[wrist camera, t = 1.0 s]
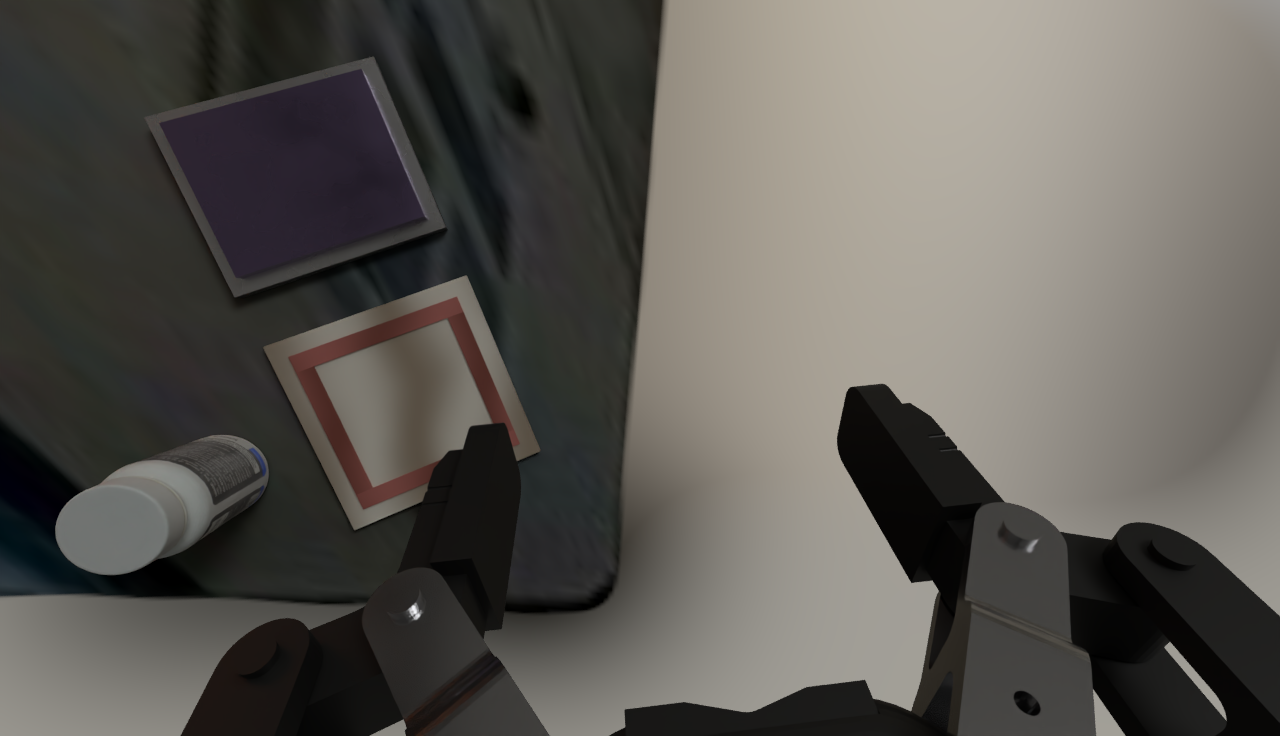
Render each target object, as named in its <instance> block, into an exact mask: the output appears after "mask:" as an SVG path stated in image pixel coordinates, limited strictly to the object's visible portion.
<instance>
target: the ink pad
mask: <svg viewBox="0 0 1280 736" xmlns="http://www.w3.org/2000/svg"><path fill="white" fill-rule="evenodd" d="M144 118H145V120H146V122H147V124H148V126H149V128H150V130H151V132H152V134H153V136H154V138H155V140H156V142H157V144H158V146H159V148H160V150H161V152H162V154H163V156H164V158H165V160H166V162H167V164H168V166H169V168H170V170H171V172H172V174H173V176H174V178H175V180H176V182H177V184H178V186H179V188H180V190H181V192H182V194H183V196H184V198H185V200H186V202H187V204H188V206H189V208H190V210H191V212H192V214H193V216H194V218H195V220H196V222H197V224H198V226H199V228H200V230H201V232H202V234H203V236H204V237H205V239H206V241H207V243H208V245H209V247H210V249H211V251H212V253H213V255H214V257H215V259H216V261H217V263H218V265H219V267H220V269H221V271H222V273H223V275H224V277H225V279H226V281H227V283H228V285H229V287H230V289H231V291H232V293H233V295H234V297H235V298H245V297H248V296H251V295H254V294H257V293H260V292H263V291H266V290H269V289H272V288H275V287H278V286H281V285H284V284H287V283H290V282H293V281H296V280H299V279H302V278H305V277H307V276H310V275H313V274H316V273H319V272H322V271H325V270H328V269H331V268H334V267H337V266H340V265H343V264H346V263H349V262H352V261H355V260H358V259H361V258H364V257H367V256H370V255H373V254H376V253H379V252H382V251H385V250H388V249H391V248H394V247H397V246H400V245H403V244H406V243H409V242H412V241H415V240H418V239H421V238H424V237H427V236H430V235H433V234H436V233H439V232H442V231H445V230H448V229H447V227H446V225H445V222H444V220H443V218H442V215H441V213H440V210H439V208H438V206H437V203H436V201H435V199H434V196H433V194H432V191H431V189H430V187H429V184H428V182H427V180H426V177H425V175H424V173H423V170H422V168H421V165H420V163H419V161H418V158H417V156H416V154H415V151H414V149H413V146H412V144H411V142H410V139H409V137H408V135H407V132H406V130H405V128H404V125H403V123H402V120H401V118H400V116H399V113H398V111H397V109H396V106H395V104H394V101H393V99H392V97H391V94H390V92H389V90H388V87H387V85H386V83H385V80H384V78H383V75H382V73H381V71H380V68H379V66H378V64H377V62H376V60H375V58H374V56H373V57H370V58H366V59H362V60H358V61H355V62H351V63H347V64H343V65H340V66H336V67H332V68H328V69H325V70H321V71H317V72H313V73H309V74H306V75H302V76H298V77H294V78H291V79H287V80H283V81H279V82H276V83H272V84H268V85H264V86H261V87H257V88H253V89H249V90H245V91H242V92H238V93H234V94H230V95H227V96H223V97H219V98H215V99H212V100H208V101H204V102H200V103H197V104H193V105H189V106H185V107H181V108H178V109H174V110H170V111H166V112H163V113H159V114H155V115H151V116H148V117H144Z"/></svg>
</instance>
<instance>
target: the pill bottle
mask: <svg viewBox="0 0 1280 736" xmlns="http://www.w3.org/2000/svg"><path fill="white" fill-rule="evenodd" d="M268 478H269V470H268V464H267V461H266V459H265V457H264V455H263V454H262V452H261V451H260V450H259V449H258V448H257V447H256V446H254V445H253V444H252V443H250V442H249V441H247V440H245V439H242V438H239V437H235V436H230V435H215V436H209V437H205V438H202V439H199V440H196V441H193V442H191V443H188V444H185V445H182V446H180V447H177V448H174V449H171V450H169V451H166V452H163V453H160V454H158V455H155V456H152V457H149V458H146V459H143V460H140V461H137V462H134V463H131V464H129V465H126V466H124V467H122V468H120V469H119V470H117V471H115V472H114V473H112V474H111V475H110V476H108V477H107V478H106V479H105V480H104V481H103V482H102V483H101V484H99V485H97V486H94V487H92V488H90V489H88V490H85V491H83V492H81V493H80V494H78V495H76V496H75V497H74V498H72V499H71V500H70V501H69V502H68V503H67V504H66V505H65V507H64V508H63V509H62V511H61V513H60V514H59V517H58V519H57V522H56V527H55V530H56V539H57V543H58V545H59V547H60V549H61V551H62V552H63V554H64V555H65V556H66V557H67V559H68V560H70V561H71V562H72V563H73V564H75V565H76V566H78V567H80V568H82V569H84V570H87V571H89V572H92V573H97V574H102V575H119V574H125V573H130V572H132V571H135V570H138V569H141V568H143V567H145V566H146V565H148V564H150V563H151V562H153V561H155V560H156V559H160V558H165V557H169V556H172V555H175V554H177V553H180V552H182V551H184V550H186V549H188V548H189V547H191V546H192V545H193V544H195V543H196V542H198V541H199V540H201V539H202V538H204V537H205V536H207V535H208V534H209V533H211V532H213V531H214V530H215V529H217V528H218V527H220V526H221V525H223V524H224V523H226V522H227V521H229V520H230V519H232V518H233V517H235V516H236V515H238V514H239V513H241V512H242V511H244V510H245V509H247V508H248V507H250V506H251V505H252V504H254V503H255V502H256V501H257V500H258V499H259V498H260V497H261V495H262V494H263V492H264V490H265V488H266V486H267V483H268Z"/></svg>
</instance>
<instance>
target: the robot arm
mask: <svg viewBox="0 0 1280 736" xmlns="http://www.w3.org/2000/svg"><path fill="white" fill-rule="evenodd" d="M837 446H838V451H839V455H840V458H841V460H842V462H843V464H844V466H845V468H846V469H847V471H848V473H849V475H850V476H851V478H852V480H853V482H854V483H855V485H856V487H857V488H858V490H859V492H860V494H861V496H862V497H863V499H864V501H865V502H866V504H867V506H868V508H869V510H870V511H871V513H872V515H873V517H874V518H875V520H876V522H877V524H878V525H879V527H880V529H881V531H882V532H883V534H884V536H885V537H886V539H887V541H888V543H889V545H890V546H891V548H892V550H893V552H894V553H895V555H896V557H897V559H898V560H899V562H900V564H901V565H902V567H903V569H904V571H905V573H906V574H907V576H908V578H909V580H910V581H911V583H914V582H922V581H931V580H933V582H934V583H935V585H936V587H937V588H938V590H939V592H938V594H937V597H936V599H935V604H934V610H933V616H932V622H931V627H930V633H929V638H928V645H927V650H926V656H925V661H924V667H923V673H922V678H921V682H920V685H919V689H918V692H917V695H916V698H915V701H914V704H913V707H912V711H908V710H906V709H904V708H901V707H899V706H897V705H894V704H891V703H887V702H884V701H881V700H876V699H873V698H872V695H871V693H870V690H869V688H868V686H867V683H866V681H865V680H861V681H853V682H845V683H838V684H829V685H820V686H812V687H806V688H804V689H802V690H800V691H798V692H795V693H793V694H791V695H789V696H787V697H784V698H782V699H780V700H778V701H776V702H774V703H771V704H769V705H767V706H765V707H763V708H761V709H758V710H756V711H753V712H739V711H733V710H727V709H721V708H715V707H709V706H703V705H698V704H692V703H686V702H683V703H675V704H667V705H658V706H650V707H642V708H634V709H626V710H625V725H626V726H625V728H623V729H621V730H619V731H617V732H615V733H613V734H611V735H610V736H1096V728H1095V714H1094V699H1093V689H1094V691H1095V692H1096V693H1097V695H1098V696H1099V698H1100V699H1101V701H1102V702H1103V704H1104V705H1105V707H1106V708H1107V709H1108V711H1109V712H1110V714H1111V715H1112V717H1113V718H1114V720H1115V721H1116V722H1117V724H1118V725H1119V727H1120V728H1121V729H1122V731H1123V733H1124V734H1125V735H1126V736H1280V616H1279V615H1278V614H1277V613H1276V612H1274V611H1273V610H1272V609H1271V608H1270V607H1269V606H1268V605H1267V604H1266V603H1265V602H1264V601H1262V600H1261V599H1260V598H1259V597H1258V596H1257V595H1256V594H1255V593H1254V592H1253V591H1252V590H1250V589H1249V588H1248V587H1247V586H1246V585H1245V584H1244V583H1243V582H1242V581H1241V580H1240V579H1239V578H1237V577H1236V576H1235V575H1234V574H1233V573H1232V572H1231V571H1230V570H1229V569H1228V568H1227V567H1225V566H1224V565H1223V564H1222V563H1221V562H1220V561H1219V560H1218V559H1217V558H1216V557H1215V556H1214V555H1212V554H1211V553H1210V552H1209V551H1208V550H1207V549H1205V548H1204V547H1203V546H1201V545H1200V544H1198V543H1197V542H1195V541H1194V540H1192V539H1190V538H1189V537H1187V536H1185V535H1183V534H1181V533H1179V532H1177V531H1174V530H1171V529H1169V528H1166V527H1163V526H1160V525H1155V524H1151V523H1140V522H1138V523H1137V522H1136V523H1130V524H1126V525H1124V526H1122V527H1121V528H1120V529H1119V531H1118V532H1117V533H1116V535H1115V536H1114V537H1113V539H1112V540H1109V539H1102V538H1095V537H1089V536H1082V535H1076V534H1069V533H1064V532H1059V531H1058V529H1057V528H1056V527H1055V526H1054V525H1053V524H1052V523H1051V522H1049V521H1048V520H1047V519H1045V518H1044V517H1043V516H1041V515H1039V514H1038V513H1036V512H1034V511H1032V510H1030V509H1028V508H1025V507H1022V506H1019V505H1015V504H1011V503H1005V502H1004V501H1003V500H1002V498H1001V497H1000V496H999V495H998V494H997V493H996V491H995V490H994V489H993V488H992V487H991V486H990V484H989V483H988V482H987V481H986V480H985V479H984V477H983V476H982V475H981V474H980V473H979V472H978V471H977V469H976V468H975V467H974V466H973V465H972V464H971V462H970V461H969V460H968V459H967V458H966V457H965V455H964V454H963V453H962V452H961V451H960V450H957V446H956V445H955V444H954V443H953V442H952V440H951V439H950V438H949V437H948V436H947V437H946V436H945V432H944V431H943V430H942V429H941V428H940V427H939V425H938V424H937V423H936V422H935V421H934V419H933V418H932V417H931V416H929V415H928V414H926V413H925V412H923V411H922V410H920V409H919V408H917V407H915V406H914V405H912V404H911V403H906V404H902V403H901V402H900V401H899V399H898V398H897V397H896V396H895V394H894V393H893V392H892V391H891V389H890V388H889V387H888V386H886V385H885V384H876V385H867V386H857V387H850V388H849V389H848V391H847V393H846V397H845V402H844V407H843V411H842V416H841V421H840V426H839V430H838V436H837ZM520 496H521V479H520V472H519V467H518V464H517V460H516V457H515V453H514V450H513V446H512V443H511V439H510V436H509V432H508V429H507V426H506V424H505V423H503V422H502V423H493V424H483V425H473V426H471V427H470V428H469V430H468V433H467V437H466V440H465V443H464V447H463V449H460V450H450V451H448V452H447V453H446V454H445V456H444V457H443V458H442V459H441V460H440V462H439V463H438V464H437V465H436V466H435V467H434V469H433V472H432V475H431V478H430V481H429V484H428V486H427V492H425V495H424V498H423V501H422V508H420V510H419V513H418V516H417V518H416V521H415V524H414V527H413V530H412V533H411V536H410V539H409V542H408V545H407V548H406V551H405V553H404V556H403V559H402V562H401V565H400V568H399V570H398V572H397V574H396V575H394V576H392V577H390V578H389V579H388V580H386V581H385V582H384V583H383V584H381V585H380V586H379V587H378V588H377V589H376V590H375V592H374V593H373V594H372V596H371V597H370V598H369V600H368V602H367V604H366V606H364V607H363V608H361V609H359V610H357V611H355V612H353V613H350V614H348V615H346V616H343V617H341V618H338V619H336V620H333V621H331V622H328V623H326V624H323V625H321V626H318V627H316V628H313V629H311V630H308V628H307V627H306V626H305V625H304V624H303V623H302V622H300V621H298V620H296V619H290V618H285V619H278V620H273V621H270V622H268V623H265V624H263V625H261V626H259V627H257V628H255V629H254V630H252V631H250V632H249V633H248V634H246V635H245V636H243V637H242V638H241V639H240V640H238V641H237V642H236V643H235V644H234V645H233V646H232V647H231V648H230V649H229V650H228V651H227V653H226V654H225V655H224V656H223V658H222V659H221V660H220V662H219V664H218V665H217V667H216V669H215V671H214V672H213V674H212V676H211V678H210V680H209V682H208V684H207V686H206V688H205V690H204V692H203V694H202V696H201V698H200V699H199V702H198V703H197V705H196V707H195V709H194V711H193V713H192V715H191V717H190V719H189V721H188V723H187V725H186V727H185V728H184V730H183V732H182V734H181V736H370V735H371V734H374V733H376V732H378V731H380V730H382V729H384V728H386V727H388V726H390V725H392V724H395V723H396V722H399V721H401V720H403V719H404V721H405V724H406V727H407V729H406V730H405V734H406V736H549V734H548V733H547V731H546V729H545V728H544V726H543V725H542V724H541V722H540V720H539V719H538V717H537V716H536V714H535V713H534V711H533V710H532V708H531V707H530V705H529V704H528V702H527V700H526V699H525V697H524V696H523V694H522V693H521V691H520V690H519V688H518V687H517V685H516V684H515V682H514V681H513V679H512V678H511V676H510V674H509V673H508V672H507V670H506V669H505V667H504V666H503V664H502V663H501V661H500V660H499V659H498V658H497V657H495V656H494V655H493V654H492V653H491V651H490V649H489V648H488V646H487V645H486V643H485V642H484V640H483V639H484V633H485V631H489V630H497V629H502V622H503V616H504V609H505V602H506V595H507V588H508V580H509V573H510V566H511V559H512V552H513V545H514V538H515V531H516V524H517V517H518V510H519V503H520ZM1169 642H1171V643H1172V644H1173V646H1175V648H1176V649H1177V650H1178V651H1179V652H1180V654H1181V655H1182V656H1183V657H1184V658H1185V659H1186V661H1187V662H1188V663H1189V664H1190V665H1191V666H1192V667H1193V668H1194V670H1195V671H1196V672H1197V673H1198V674H1199V676H1201V678H1202V679H1203V680H1204V681H1205V682H1206V684H1208V686H1209V687H1210V688H1211V689H1212V691H1213V692H1214V693H1215V694H1216V695H1217V697H1218V698H1219V700H1220V701H1221V703H1222V705H1223V707H1224V710H1225V713H1226V718H1227V721H1226V720H1225V719H1224V718H1223V717H1222V715H1221V714H1220V713H1219V712H1218V711H1217V709H1216V708H1215V707H1214V706H1213V705H1212V703H1211V702H1210V701H1209V700H1208V699H1207V698H1206V696H1205V695H1204V694H1203V693H1202V692H1201V691H1200V689H1199V688H1198V687H1197V686H1196V685H1195V684H1194V682H1193V681H1192V680H1191V679H1190V678H1189V676H1188V675H1187V674H1186V673H1185V672H1184V671H1183V669H1182V668H1181V667H1180V666H1179V665H1178V663H1177V662H1176V661H1175V660H1174V659H1173V658H1172V657H1171V655H1170V654H1169V653H1168V652H1167V651H1166V649H1165V648H1164V647H1165V646H1166V645H1167V644H1168V643H1169Z"/></svg>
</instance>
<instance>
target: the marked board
mask: <svg viewBox="0 0 1280 736" xmlns="http://www.w3.org/2000/svg"><path fill="white" fill-rule="evenodd" d="M263 348H264V350H265V352H266V354H267V356H268V358H269V360H270V362H271V364H272V366H273V368H274V370H275V372H276V374H277V376H278V378H279V380H280V382H281V384H282V386H283V388H284V390H285V392H286V394H287V396H288V398H289V400H290V402H291V404H292V406H293V408H294V410H295V412H296V414H297V416H298V418H299V420H300V422H301V424H302V426H303V428H304V430H305V432H306V434H307V436H308V438H309V440H310V442H311V445H312V447H313V449H314V451H315V453H316V455H317V457H318V459H319V461H320V463H321V465H322V467H323V469H324V471H325V473H326V475H327V477H328V479H329V481H330V483H331V485H332V487H333V489H334V491H335V493H336V495H337V497H338V499H339V501H340V503H341V505H342V507H343V509H344V511H345V513H346V515H347V517H348V519H349V521H350V523H351V525H352V527H353V529H354V530H356V529H359V528H361V527H363V526H366V525H368V524H370V523H373V522H375V521H378V520H380V519H382V518H385V517H387V516H389V515H392V514H394V513H396V512H399V511H401V510H403V509H406V508H408V507H410V506H413V505H415V504H417V503H420V502H422V501H423V498H424V495H425V492H427V486H428V484H429V481H430V478H431V475H432V472H433V469H434V467H435V466H436V465H437V464H438V463H439V462H440V460H441V459H442V458H443V457H444V456H445V454H446V453H447V452H448V451H450V450H460V449H463V447H464V443H465V440H466V437H467V433H468V430H469V428H470V427H471V426H473V425H483V424H493V423H502V422H503V423H505V424H506V426H507V429H508V432H509V436H510V439H511V443H512V446H513V450H514V453H515V457H516V460H517V461H519V460H521V459H523V458H526V457H528V456H530V455H533V454H535V453H537V452H540V448H539V445H538V443H537V441H536V438H535V436H534V433H533V431H532V429H531V426H530V424H529V422H528V419H527V417H526V415H525V412H524V410H523V407H522V405H521V403H520V400H519V398H518V396H517V393H516V391H515V389H514V386H513V384H512V381H511V379H510V377H509V374H508V372H507V370H506V367H505V365H504V362H503V360H502V358H501V355H500V353H499V351H498V348H497V346H496V344H495V341H494V339H493V336H492V334H491V332H490V329H489V327H488V325H487V322H486V320H485V317H484V315H483V313H482V310H481V308H480V306H479V303H478V301H477V299H476V296H475V294H474V291H473V289H472V287H471V284H470V282H469V280H468V277H467V276H463V277H461V278H458V279H455V280H452V281H449V282H446V283H444V284H441V285H438V286H435V287H432V288H429V289H427V290H424V291H421V292H418V293H415V294H412V295H410V296H407V297H404V298H401V299H398V300H395V301H392V302H390V303H387V304H384V305H381V306H378V307H375V308H373V309H370V310H367V311H364V312H361V313H358V314H356V315H353V316H350V317H347V318H344V319H341V320H339V321H336V322H333V323H330V324H327V325H324V326H321V327H319V328H316V329H313V330H310V331H307V332H304V333H302V334H299V335H296V336H293V337H290V338H287V339H285V340H282V341H279V342H276V343H273V344H270V345H268V346H265V347H263Z"/></svg>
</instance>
